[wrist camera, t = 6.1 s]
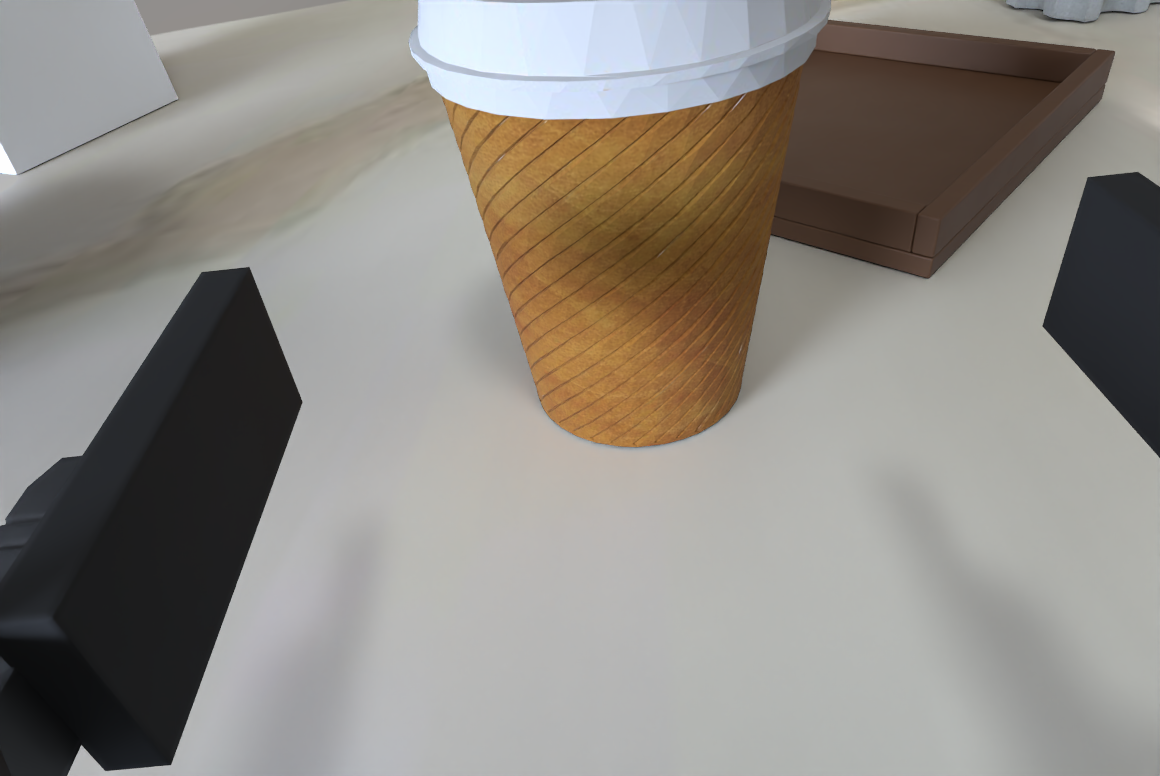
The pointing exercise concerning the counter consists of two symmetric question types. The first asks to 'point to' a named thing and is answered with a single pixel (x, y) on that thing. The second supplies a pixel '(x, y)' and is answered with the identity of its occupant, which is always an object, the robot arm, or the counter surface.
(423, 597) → the counter surface
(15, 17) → the milk
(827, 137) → the serving tray
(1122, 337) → the robot arm
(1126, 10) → the egg carton
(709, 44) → the disposable coffee cup
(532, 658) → the counter surface
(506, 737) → the counter surface
